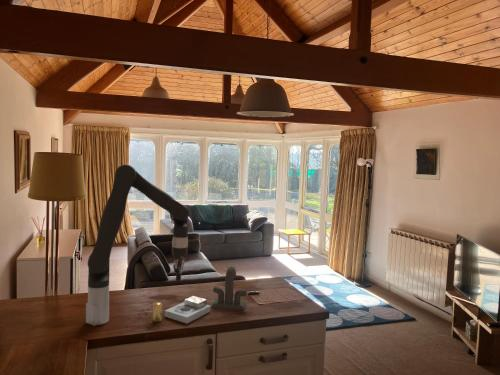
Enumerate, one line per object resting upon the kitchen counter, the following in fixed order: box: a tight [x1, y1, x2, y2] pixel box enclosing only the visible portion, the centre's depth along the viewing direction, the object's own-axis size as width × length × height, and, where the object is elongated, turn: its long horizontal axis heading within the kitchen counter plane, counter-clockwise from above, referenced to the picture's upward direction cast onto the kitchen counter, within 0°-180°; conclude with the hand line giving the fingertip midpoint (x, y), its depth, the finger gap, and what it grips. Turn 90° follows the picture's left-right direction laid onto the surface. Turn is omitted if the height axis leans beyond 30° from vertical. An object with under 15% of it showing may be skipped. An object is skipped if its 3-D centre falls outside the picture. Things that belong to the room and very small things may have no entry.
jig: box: [164, 301, 211, 324], centre depth 196 cm, size 18×14×3 cm
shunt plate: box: [183, 295, 208, 308], centre depth 201 cm, size 7×9×2 cm
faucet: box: [210, 265, 248, 311], centre depth 211 cm, size 18×16×20 cm
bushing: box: [152, 301, 163, 323], centre depth 187 cm, size 4×4×8 cm
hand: (178, 280), depth 193 cm, fingers closed
